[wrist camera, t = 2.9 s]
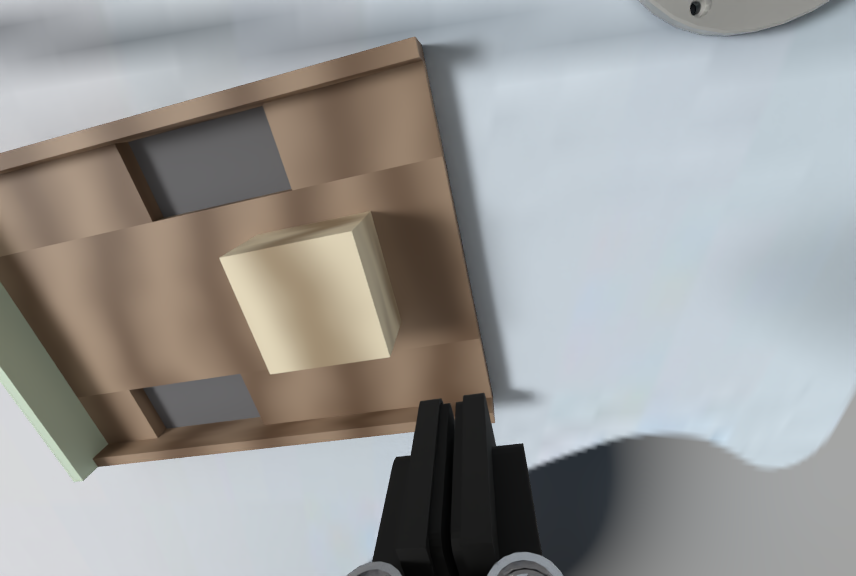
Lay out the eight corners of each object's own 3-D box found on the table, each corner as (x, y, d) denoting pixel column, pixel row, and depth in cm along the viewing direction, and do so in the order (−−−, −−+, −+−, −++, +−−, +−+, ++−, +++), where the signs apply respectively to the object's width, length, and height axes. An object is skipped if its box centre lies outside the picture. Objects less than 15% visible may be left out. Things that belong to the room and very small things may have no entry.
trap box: (421, 44, 21) (415, 36, 18) (492, 395, 29) (495, 422, 26) (-47, 174, 26) (-101, 181, 23) (124, 440, 34) (97, 466, 31)
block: (370, 211, 23) (351, 230, 19) (401, 321, 26) (390, 357, 22) (256, 235, 24) (218, 258, 21) (297, 338, 27) (270, 374, 23)
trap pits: (272, 103, 22) (270, 103, 22) (372, 401, 30) (372, 402, 30) (19, 171, 25) (16, 172, 25) (168, 426, 33) (166, 428, 33)
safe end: (-47, 174, 26) (-131, 185, 22) (124, 440, 34) (83, 480, 30) (-57, 176, 26) (-143, 188, 22) (116, 441, 34) (74, 481, 30)
